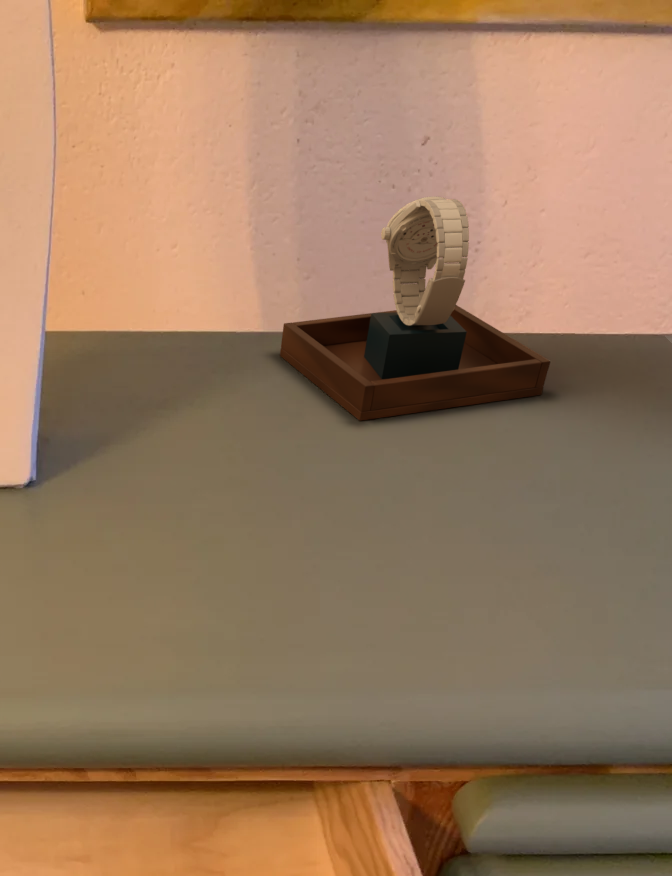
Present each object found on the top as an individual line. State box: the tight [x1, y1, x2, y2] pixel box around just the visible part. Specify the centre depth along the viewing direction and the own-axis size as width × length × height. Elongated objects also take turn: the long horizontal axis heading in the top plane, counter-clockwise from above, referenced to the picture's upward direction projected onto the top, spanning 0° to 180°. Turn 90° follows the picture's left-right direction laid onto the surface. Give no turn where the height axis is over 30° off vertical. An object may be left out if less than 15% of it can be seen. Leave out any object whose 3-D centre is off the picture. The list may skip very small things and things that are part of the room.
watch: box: [364, 196, 470, 379], centre depth 80 cm, size 6×8×11 cm
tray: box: [279, 304, 551, 422], centre depth 83 cm, size 14×12×2 cm
